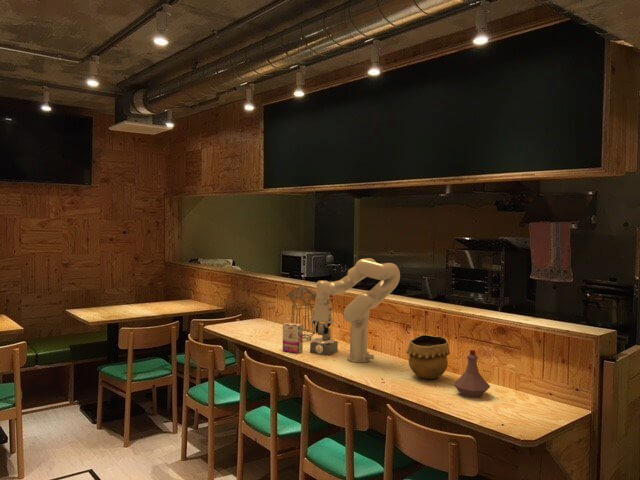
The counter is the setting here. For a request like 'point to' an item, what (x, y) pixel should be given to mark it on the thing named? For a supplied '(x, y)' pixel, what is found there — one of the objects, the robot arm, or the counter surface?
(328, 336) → the disc
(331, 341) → the pan
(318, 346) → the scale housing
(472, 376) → the flask
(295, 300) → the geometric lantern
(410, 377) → the counter surface
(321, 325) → the cylinder
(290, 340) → the candy bar box
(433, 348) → the clay pot
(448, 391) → the counter surface
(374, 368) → the counter surface
